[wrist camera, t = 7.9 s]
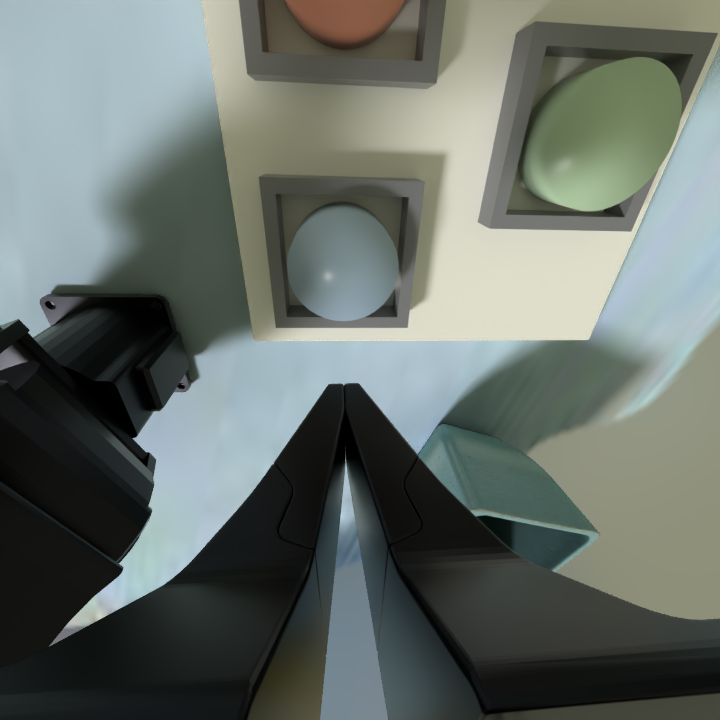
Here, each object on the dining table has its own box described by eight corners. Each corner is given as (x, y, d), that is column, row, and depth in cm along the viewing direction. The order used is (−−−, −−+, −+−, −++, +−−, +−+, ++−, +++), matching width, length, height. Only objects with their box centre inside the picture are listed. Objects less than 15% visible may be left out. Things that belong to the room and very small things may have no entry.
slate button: (296, 300, 18) (291, 321, 16) (289, 200, 15) (282, 209, 13) (387, 300, 18) (393, 321, 16) (394, 203, 16) (403, 212, 14)
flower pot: (529, 424, 26) (607, 536, 19) (470, 493, 31) (514, 607, 23) (430, 395, 24) (474, 509, 17) (381, 473, 29) (398, 593, 21)
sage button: (505, 201, 16) (531, 209, 14) (537, 67, 13) (575, 53, 11) (602, 203, 16) (642, 212, 14) (651, 73, 14) (709, 60, 12)
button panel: (258, 328, 21) (248, 354, 18) (171, -285, 10) (115, -431, 7) (573, 328, 22) (605, 352, 19) (794, -209, 11) (927, -311, 9)
